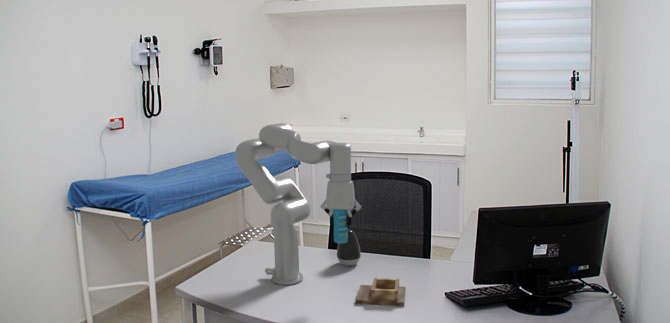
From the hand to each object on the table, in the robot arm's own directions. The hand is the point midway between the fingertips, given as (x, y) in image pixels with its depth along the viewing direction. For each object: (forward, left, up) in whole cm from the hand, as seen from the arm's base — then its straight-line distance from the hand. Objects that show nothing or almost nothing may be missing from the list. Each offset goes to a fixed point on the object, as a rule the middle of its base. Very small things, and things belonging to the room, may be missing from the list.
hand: (340, 225), depth 202 cm
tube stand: (+15, -1, -26) cm, 30 cm away
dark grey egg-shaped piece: (-2, +32, -26) cm, 41 cm away
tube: (0, 0, -6) cm, 6 cm away
